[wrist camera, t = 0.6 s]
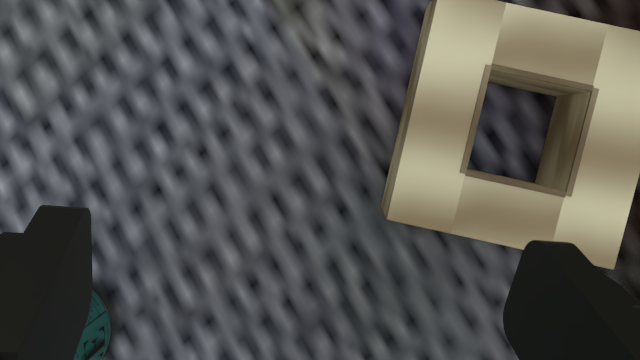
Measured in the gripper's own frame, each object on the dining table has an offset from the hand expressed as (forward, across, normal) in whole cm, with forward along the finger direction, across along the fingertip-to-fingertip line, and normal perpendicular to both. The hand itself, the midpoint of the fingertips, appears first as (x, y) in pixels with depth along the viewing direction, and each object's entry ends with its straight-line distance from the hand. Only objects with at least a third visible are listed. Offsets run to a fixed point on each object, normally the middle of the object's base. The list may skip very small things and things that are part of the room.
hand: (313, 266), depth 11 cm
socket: (+23, -14, +5) cm, 28 cm away
